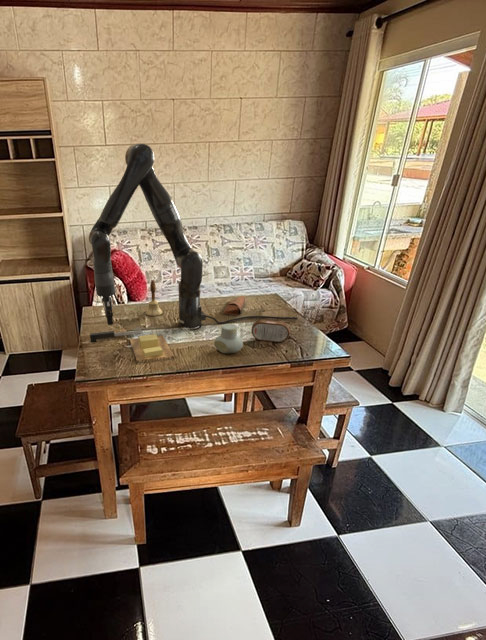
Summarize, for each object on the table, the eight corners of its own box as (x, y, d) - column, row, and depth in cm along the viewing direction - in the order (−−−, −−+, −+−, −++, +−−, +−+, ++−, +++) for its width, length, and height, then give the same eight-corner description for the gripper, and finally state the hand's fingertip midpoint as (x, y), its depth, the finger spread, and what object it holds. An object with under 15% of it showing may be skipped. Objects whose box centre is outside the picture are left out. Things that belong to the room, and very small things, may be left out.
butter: (156, 342, 164) (155, 334, 162) (158, 347, 160) (158, 339, 158) (139, 344, 163) (138, 336, 161) (141, 349, 159) (140, 341, 157)
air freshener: (210, 348, 160) (211, 325, 155) (225, 343, 164) (226, 319, 159) (230, 358, 152) (232, 333, 147) (246, 352, 156) (247, 327, 151)
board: (162, 337, 170) (162, 335, 170) (173, 358, 153) (173, 355, 153) (129, 341, 168) (129, 339, 168) (137, 363, 151) (136, 360, 150)
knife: (90, 342, 169) (90, 335, 167) (90, 340, 171) (89, 333, 169) (143, 336, 173) (142, 329, 171) (142, 334, 174) (141, 327, 173)
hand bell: (144, 311, 199) (142, 278, 191) (160, 309, 201) (159, 277, 193) (147, 316, 192) (145, 283, 184) (164, 314, 194) (163, 281, 186)
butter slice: (160, 346, 156) (162, 349, 153) (160, 350, 157) (162, 354, 154) (142, 349, 154) (144, 352, 151) (142, 353, 155) (145, 357, 152)
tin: (289, 341, 163) (291, 321, 159) (288, 344, 161) (291, 324, 157) (251, 337, 168) (252, 318, 164) (250, 340, 165) (251, 320, 161)
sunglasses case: (228, 301, 206) (235, 290, 203) (239, 308, 206) (247, 298, 203) (222, 313, 191) (230, 302, 188) (235, 321, 191) (243, 310, 188)
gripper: (116, 286, 155) (120, 326, 163) (112, 276, 167) (116, 313, 175) (96, 288, 154) (101, 328, 162) (93, 278, 166) (99, 316, 174)
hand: (109, 320), depth 168 cm, fingers open, 8 cm apart
